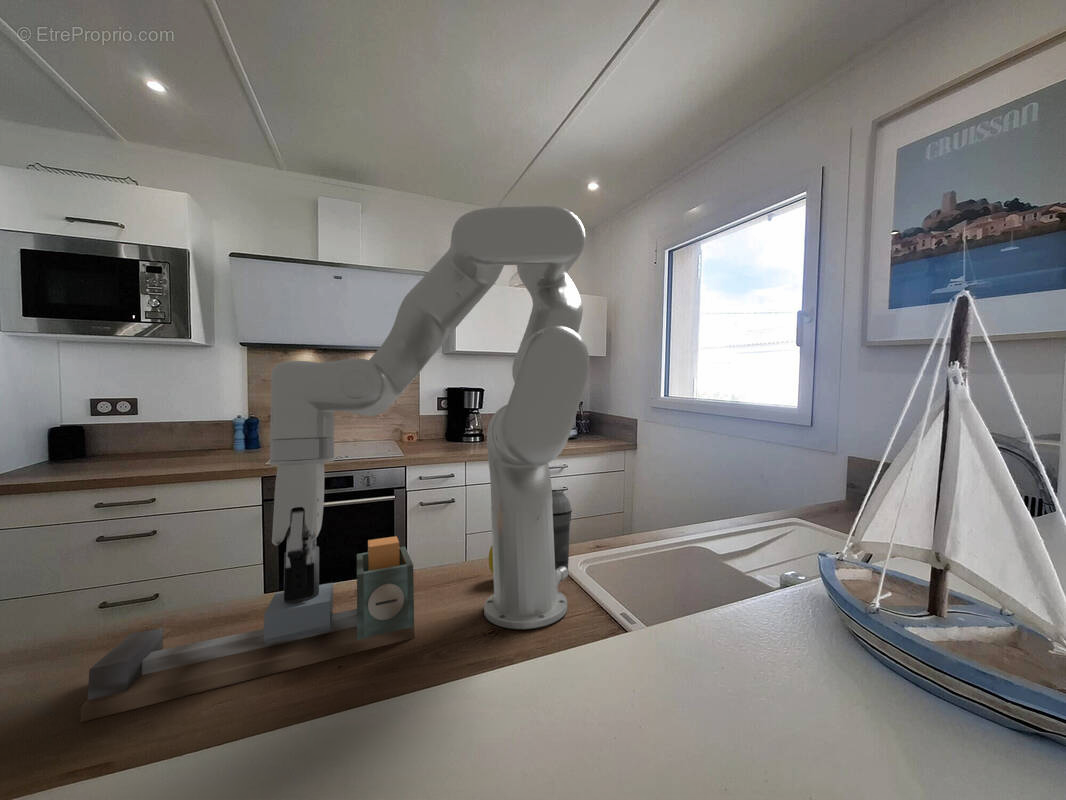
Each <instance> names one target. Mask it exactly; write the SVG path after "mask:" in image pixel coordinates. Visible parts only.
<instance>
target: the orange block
mask: <svg viewBox="0 0 1066 800" xmlns="http://www.w3.org/2000/svg"><path fill="white" fill-rule="evenodd" d="M399 547H400V541H399V538H398V536H397V535H395V536H389V537H382V538H381V537H380V538H374V539H368V540H367V552H368V571H371V570H377V569H382V568H388V567H394V566H400V556H399Z"/></svg>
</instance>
